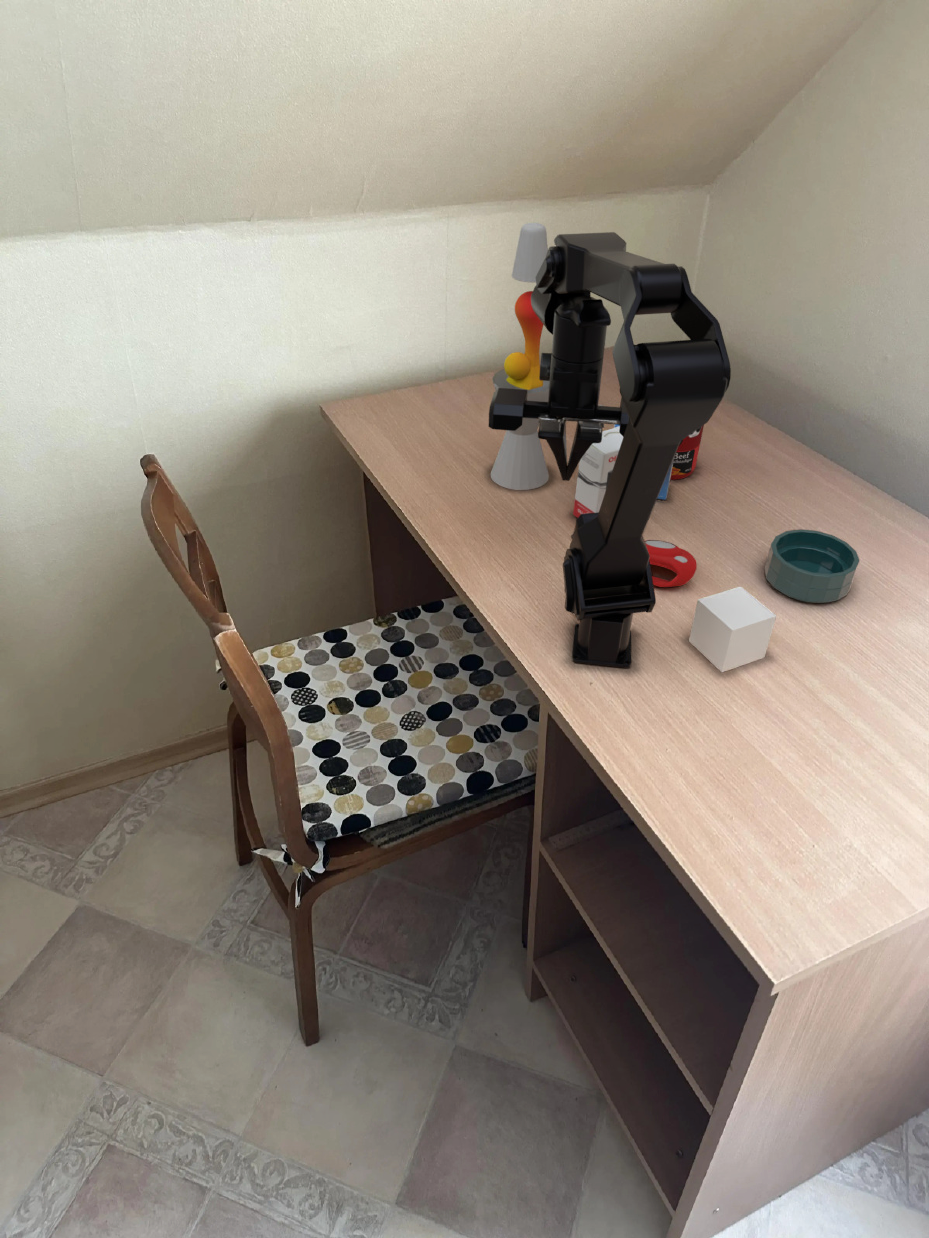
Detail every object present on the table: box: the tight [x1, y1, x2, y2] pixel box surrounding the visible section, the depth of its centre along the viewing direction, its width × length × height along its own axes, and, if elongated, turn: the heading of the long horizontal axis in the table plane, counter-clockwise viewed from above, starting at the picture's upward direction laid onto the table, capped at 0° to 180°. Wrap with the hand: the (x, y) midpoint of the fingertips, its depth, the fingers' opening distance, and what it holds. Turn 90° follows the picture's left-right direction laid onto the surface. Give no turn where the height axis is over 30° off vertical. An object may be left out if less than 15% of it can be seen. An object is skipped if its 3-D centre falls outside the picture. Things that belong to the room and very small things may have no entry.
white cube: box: [688, 586, 777, 673], centre depth 100 cm, size 6×6×6 cm
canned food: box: [670, 424, 705, 481], centre depth 131 cm, size 8×8×11 cm
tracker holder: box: [644, 539, 698, 588], centre depth 112 cm, size 12×4×10 cm
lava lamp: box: [490, 222, 550, 491], centre depth 122 cm, size 9×9×35 cm
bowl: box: [764, 528, 860, 604], centre depth 111 cm, size 10×10×4 cm
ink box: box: [572, 426, 623, 518], centre depth 120 cm, size 8×5×12 cm, turn 123°
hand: (566, 479), depth 108 cm, fingers closed
